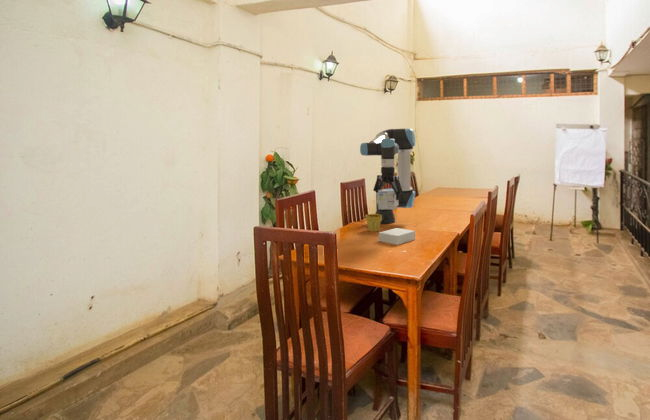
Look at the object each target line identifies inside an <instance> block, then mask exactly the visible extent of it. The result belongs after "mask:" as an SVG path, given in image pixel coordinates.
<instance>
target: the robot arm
mask: <svg viewBox="0 0 650 420" xmlns="http://www.w3.org/2000/svg"><path fill="white" fill-rule="evenodd" d="M415 134H416V133H415V132H414V130H413V129H412V128H390V129H386V130H382V131H381V132H378V134H376V135H375V137H374V138H373V139H371V140H370V141H369V142H362V143H361V144H360V146H359V153H360V155H361V156H365V157H366V156H369V157H370V156H380V157H381V158H380V160H381V161H380V162H381V163H380V165H381V167H380V173H381V174H377V176H376V180H375V184H374V186H373V192H375V200H376V211H375V213H374V214H379V215H382V221H381V223H380V224H392V223H393V224H394V223H395V222H396V217H395V214H394V209H379V210H378V190H394V191H395V193H396V194H394V206H397V208H404V209H410V208H411V209H412V207H413V206H414V203H415V199H416V191H415V190H414V188H413V187H412V185H411V182H412V181H411V178H412V177H411V173H412V172H411V170H412V169H411V164H412V163H411V159H412V158H411V157H412V156H411V151H413V149H414V147H416V136H415ZM396 155H397V175H395V161H396V160H395V157H396ZM385 184H390V186H391V188H384V189H383V187H384V186H385Z"/></svg>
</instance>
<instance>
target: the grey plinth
mask: <svg viewBox="0 0 650 420" xmlns="http://www.w3.org/2000/svg"><path fill="white" fill-rule="evenodd" d="M415 240H416V230H411V229H406V228H400V227H395V228H392V229H387V230H384V231H379V232H378V242H381V243H387V244H390V245H396V246H399V245H402V244H404V243H408V242H411V241H415Z"/></svg>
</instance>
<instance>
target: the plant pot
mask: <svg viewBox="0 0 650 420" xmlns="http://www.w3.org/2000/svg"><path fill="white" fill-rule="evenodd" d="M381 221H382V215H379V214H375V213H370V214H366V215H365V222H366V226H367V229H368V231H370V232H378V231H379V230H380V226H381V224H382V223H381ZM379 232H380V231H379Z"/></svg>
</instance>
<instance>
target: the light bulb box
mask: <svg viewBox="0 0 650 420" xmlns="http://www.w3.org/2000/svg"><path fill="white" fill-rule="evenodd" d="M394 194H396V193H395V191H394V190H382V189H381V190H378V210H379V209H393V210H398V207H397V206H394Z"/></svg>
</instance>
